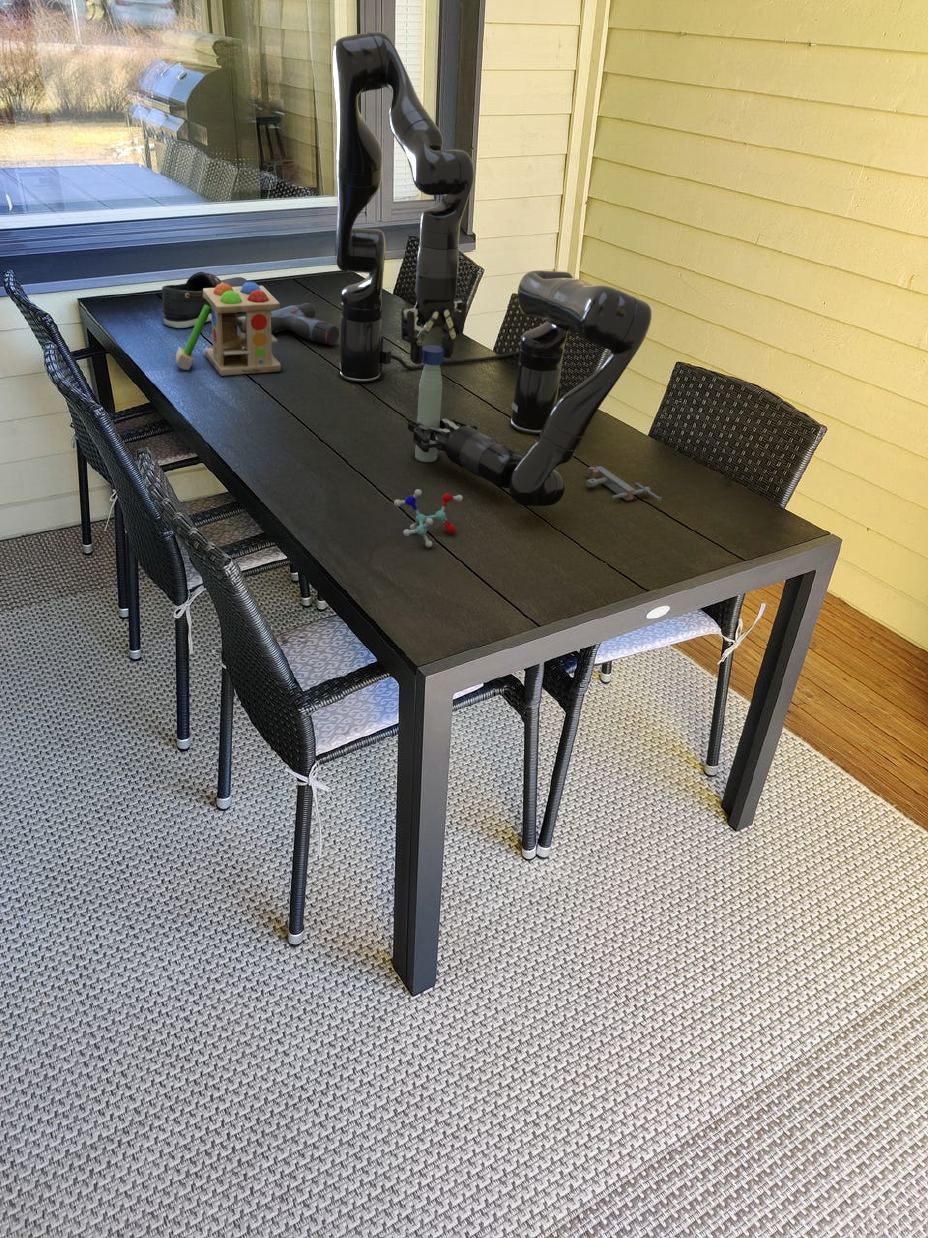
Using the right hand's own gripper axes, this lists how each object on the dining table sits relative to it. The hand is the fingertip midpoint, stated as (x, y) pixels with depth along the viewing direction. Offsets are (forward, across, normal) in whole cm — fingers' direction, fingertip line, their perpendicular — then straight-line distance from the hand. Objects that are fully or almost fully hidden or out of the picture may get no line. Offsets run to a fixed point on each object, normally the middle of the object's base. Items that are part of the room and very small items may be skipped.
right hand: (419, 421), depth 196 cm
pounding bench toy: (+61, +9, +7) cm, 62 cm away
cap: (-3, 0, -15) cm, 16 cm away
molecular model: (-27, +20, +7) cm, 35 cm away
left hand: (-3, 0, -14) cm, 14 cm away
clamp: (-35, -22, +7) cm, 42 cm away
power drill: (+70, -22, +7) cm, 74 cm away
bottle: (-3, 0, +7) cm, 7 cm away
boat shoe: (+97, -7, +7) cm, 98 cm away
